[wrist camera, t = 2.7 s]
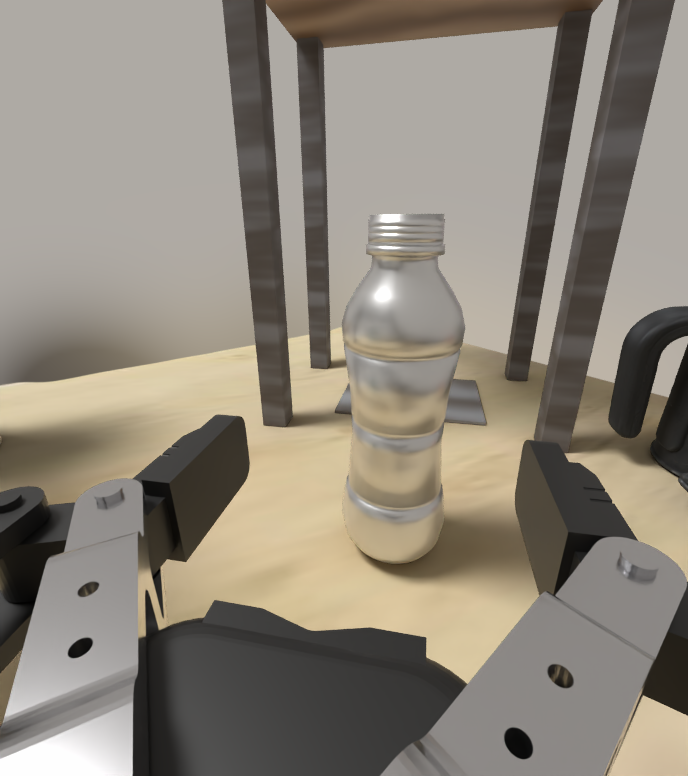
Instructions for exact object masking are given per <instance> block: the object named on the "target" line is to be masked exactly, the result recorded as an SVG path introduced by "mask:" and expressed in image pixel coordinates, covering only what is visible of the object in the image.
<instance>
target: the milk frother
mask: <svg viewBox="0 0 688 776" xmlns="http://www.w3.org/2000/svg"><path fill="white" fill-rule="evenodd" d="M684 336H688V306H684V307H669V308H664V309H661V310H658V311H655V312H653V313H651V314H649V315H647V316H646V317H644V318H643V319H641V320H640V321H639V322H637V323H636V324H635V325H634V326H633V327H632V328H631V329H630V331H629V332H628V334H627V336H626V337H625V340H624V342H623V345H622V350H621V354H620V359H619V365H618V370H617V375H616V379H615V385H614V390H613V395H612V401H611V406H610V411H609V418H608V420H609V424H610V425H611V427H612V428H613V429H614V430H615V432H616V433H618V434H619V435H620V436H622V437H626V438H634V437H636V436H637V435H638V434H639V433H640V431H641V428H642V424H643V420H644V416H645V413H646V409H647V406H648V402H649V397H650V394H651V390H652V386H653V383H654V379H655V375H656V371H657V366H658V362H659V359H660V356H661V353H662V351H663V350H664V349H665V348H666V346H667V345H669V344H670V343H671V342H673V341H674V340H676V339H678V338H681V337H684ZM650 450H651V454H652V455H653V456H654V458H655V459H656V460H657V461H658V462H659V463H660V464H661V465H662V466H663V467H665V468H666V469H668V470H669V471H671V472H672V473H675V474H676V475H678V476H679V477H680V478H679V479H678V481H679V483H680V485H681V486H682V487H683V488H684V489H685V490H686V491H687V492H688V345H687V348H686V350H685V353H684V356H683V359H682V362H681V364H680V367H679V370H678V373H677V375H676V378H675V382H674V385H673V387H672V389H671V393H670V395H669V398H668V401H667V404H666V406H665V409H664V412H663V414H662V417H661V420H660V422H659V425H658V428H657V432H656V439H655V440H654V441H653V442H652V444H651V447H650Z"/></svg>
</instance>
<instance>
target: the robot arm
mask: <svg viewBox="0 0 688 776" xmlns="http://www.w3.org/2000/svg"><path fill="white" fill-rule="evenodd" d="M1 441H2V438H1V435H0V444H1ZM249 464H250V462H249V453H248V445H247V437H246V428H245V422H244V420H243V418H242V417H240V416H229V415H215V416H214V417H213V418H212V419H210V420H209V421H208V422H207V423H206V424H205V425H204V426H202V427H201V428H200V429H197V430H195V431H193V432H191V433H189V434H187V435H185V436H183V437H181V438H180V439H179V440H178V441H177V442H176V443H174V444H173V445H172V448H168V449H167V450H166V451H165V452H164V453H163V455H162V456H161V455H160V456H159V457H158V458H157V459H155V460H154V461H153V462H152V463H151V464H149V465H148V466H147V467H146V468H145V469H144V470H142V471H141V472H140V473H139V474H138V475H136V476H135V477H134V478H133V479H115V480H110V481H107V482H104V483H101V484H98V485H96V486H94V487H92V488H90V489H89V490H87V491H86V492H84V493H83V494H82V495H81V496H80V497H79V498H78V499H77V501H76V502H75V503H65V504H55V505H48V502H47V499H46V496H45V494H44V491H43V490H42V489H41V488H38V487H29V486H28V487H19V488H14V489H10V490H7V491H4V492H1V493H0V673H1V672H2V670H3V669H4V668H5V667H6V666H7V665H8V664H9V663H10V662H11V661H12V659H13V658H14V657H15V656H16V655H17V654H18V653H19V652H20V651H21V650H22V648H23V650H22V654H21V657H20V661H19V665H18V668H17V672H16V676H15V679H14V683H13V687H12V690H11V694H10V698H9V702H8V705H7V709H6V713H5V716H4V720H3V723H2V725H1V726H0V776H609V774H610V772H611V769H612V767H613V765H614V762H615V760H616V758H617V755H618V753H619V751H620V748H621V746H622V744H623V741H624V739H625V737H626V734H627V732H628V730H629V727H630V725H631V723H632V720H633V718H634V716H635V713H636V711H637V709H638V706H639V704H640V702H641V699H642V697H643V695H644V696H646V697H648V698H651V699H653V700H655V701H657V702H659V703H662V704H664V705H666V706H668V707H670V708H672V709H675V710H677V711H679V712H681V713H683V714H686V715H688V582H687V579H686V577H685V574H684V573H683V571H682V570H681V568H680V567H679V566H678V565H677V564H676V563H675V562H674V561H673V560H672V559H671V558H669V557H668V556H667V555H665V554H664V553H662V552H661V551H659V550H657V549H655V548H653V547H651V546H649V545H647V544H645V543H642V542H639V541H638V540H637V538H636V537H635V535H634V534H633V532H632V531H631V529H630V528H629V526H628V524H627V523H626V521H625V520H624V518H623V517H622V515H621V514H620V512H619V510H618V509H617V507H616V506H615V504H612V500H611V498H610V496H609V495H608V493H607V492H605V489H604V487H603V486H602V484H601V482H600V481H599V479H598V478H597V476H596V475H595V474H593V473H592V472H591V471H589V470H588V469H587V468H585V467H584V466H583V465H581V464H580V463H572V462H569V461H568V460H567V458H566V456H565V454H564V453H563V451H562V449H561V447H560V446H559V444H558V443H557V442H546V441H533V440H526V441H525V442H524V445H523V449H522V455H521V461H520V467H519V473H518V479H517V485H516V491H515V508H516V514H517V517H518V521H519V524H520V528H521V531H522V535H523V539H524V542H525V546H526V549H527V553H528V556H529V560H530V563H531V567H532V570H533V574H534V577H535V581H536V584H537V588H538V591H539V595H540V596H539V597H538V598H537V600H536V601H535V602H534V603H533V605H532V606H531V607H530V608H529V610H528V611H527V612H526V613H525V614H524V616H523V617H522V618H521V619H520V621H519V622H518V623H517V624H516V626H515V627H514V628H513V629H512V630H511V632H510V633H509V634H508V635H507V637H506V638H505V639H504V640H503V641H502V643H501V644H500V645H499V646H498V648H497V649H496V650H495V651H494V653H493V654H492V655H491V656H490V657H489V659H488V660H487V661H486V662H485V664H484V665H483V666H482V667H481V669H480V670H479V671H478V672H477V673H476V675H475V676H474V677H473V678H472V680H471V681H470V682H469V683H468V684H466V683H465V682H464V681H463V680H462V679H461V678H459V677H458V676H457V675H455V674H454V673H453V672H451V671H450V670H448V669H447V668H445V667H443V666H442V665H440V664H438V663H437V662H435V661H432V660H430V659H428V658H426V637H420V636H415V635H409V634H403V633H398V632H392V631H386V630H381V629H375V628H356V629H341V630H326V631H310V630H307V629H305V628H302V627H300V626H298V625H296V624H294V623H292V622H290V621H288V620H286V619H284V618H281V617H279V616H277V615H275V614H273V613H271V612H269V611H267V610H265V609H262V608H257V607H251V606H245V605H240V604H234V603H228V602H223V601H217V600H214V602H213V604H212V605H211V607H210V609H209V611H208V612H207V614H206V616H205V617H204V618H198V619H192V620H187V621H183V622H180V623H176V624H173V625H170V626H168V624H167V611H166V598H165V586H164V575H163V570H162V565H163V563H164V562H165V561H166V560H167V559H170V560H176V561H183V562H186V561H187V560H188V559H189V557H190V556H191V554H192V553H193V552H194V550H195V549H196V548H197V546H198V545H199V544H200V542H201V541H202V539H203V538H204V537H205V535H206V534H207V533H208V531H209V530H210V529H211V527H212V526H213V525H214V523H215V522H216V520H217V519H218V518H219V516H220V515H221V514H222V512H223V511H224V510H225V508H226V507H227V505H228V504H229V503H230V501H231V500H232V499H233V497H234V496H235V495H236V493H237V492H238V491H239V489H240V488H241V486H242V485H243V484H244V482H245V481H246V479H247V476H248V472H249Z"/></svg>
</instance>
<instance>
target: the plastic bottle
mask: <svg viewBox="0 0 688 776" xmlns="http://www.w3.org/2000/svg"><path fill="white" fill-rule="evenodd" d="M444 222H445V219H444V214H387V215H370V216H369V236H368V242H369V243H368V244H367V245H366V253H367V254H369V255H372V265H371V268H370V270H369V271H368V273H367V274H366V276H365V277H364V278H363V280H362V281H361V283H360V284H359V286H358V287H357V288H356V290H355V292H354V294H353V296H352V297H351V299H350V301H349V302H348V304H347V306H346V310H345V314H344V317H343V321H342V332H343V341H344V350H345V356H346V363H347V370H348V377H349V384H350V392H351V412H352V442H351V453H350V464H349V474H348V477H347V480H346V484H345V489H344V496H343V503H342V511H343V516H344V521H345V526H346V529H347V533H348V535H349V537H350V538H351V540H352V541H353V542H354V543H355V544H356V545H357V547H358V548H359V549H360V550H361V551H363V552H364V553H365V554H366V555H368V556H370V557H371V558H373V559H376V560H378V561H381V562H385V563H391V564H402V563H408V562H412V561H415V560H417V559H419V558H420V557H422V556H423V555H425V554H426V553H428V552H429V551H430V550H431V549H432V548H433V547H434V546H435V544H436V543H437V541H438V538H439V535H440V532H441V529H442V526H443V523H444V495H443V488H442V484H441V440H442V434H443V428H444V419H445V416H446V410H447V403H448V397H449V392H450V388H451V385H452V381H453V377H454V373H455V369H456V366H457V362H458V358H459V354H460V348H461V346H462V343H463V337H464V331H465V324H464V318H463V313H462V309H461V306H460V304H459V302H458V300H457V298H456V296H455V295H454V292H453V291H452V289H451V287H450V285H449V284H448V282H447V281H446V279H445V278H444V276H443V274H442V273H441V271H440V270H439V268H438V256H439V255H443V254H444V253H445V244H443V236H444Z"/></svg>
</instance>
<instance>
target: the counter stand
mask: <svg viewBox="0 0 688 776" xmlns="http://www.w3.org/2000/svg"><path fill="white" fill-rule="evenodd" d="M602 1H603V0H222V2H223V12H224V22H225V33H226V43H227V53H228V63H229V74H230V83H231V94H232V105H233V115H234V125H235V136H236V145H237V156H238V166H239V177H240V187H241V197H242V208H243V218H244V228H245V239H246V249H247V258H248V269H249V279H250V290H251V300H252V311H253V319H254V331H255V341H256V352H257V362H258V372H259V383H260V393H261V403H262V414H263V424H264V425H268V426H279V427H286V426H287V424H288V423H289V421H290V420H291V419H292V417H293V413H292V398H291V383H290V367H289V352H288V337H287V321H286V307H285V291H284V275H283V261H282V245H281V229H280V215H279V200H278V185H277V168H276V153H275V138H274V122H273V108H272V92H271V76H270V61H269V46H268V30H267V16H266V4H267V5H268V6H269V8H270V9H271V10H272V12H273V13H274V14H275V15H276V17H277V18H278V19H279V21H280V22H281V23H282V24H283V26H284V27H285V28H286V30H287V31H288V32H289V33H290V35H291V36H292V37H293V38H294V40H295V41H296V42H297V60H298V82H299V106H300V127H301V152H302V175H303V196H304V197H303V198H304V220H305V243H306V266H307V287H308V288H307V289H308V311H309V335H310V358H311V368H323V369H327V368H328V367H329V365H330V364H331V348H330V306H329V267H328V266H329V264H328V225H327V224H328V223H327V222H328V220H327V180H326V138H325V96H324V95H325V93H324V50H323V48H330V47H340V46H351V45H363V44H373V43H383V42H395V41H404V40H416V39H426V38H437V37H448V36H459V35H469V34H479V33H491V32H501V31H512V30H522V29H534V28H544V27H555V26H558V29H557V35H556V42H555V49H554V55H553V61H552V68H551V75H550V81H549V88H548V94H547V101H546V108H545V114H544V120H543V127H542V133H541V140H540V146H539V153H538V159H537V166H536V173H535V179H534V186H533V192H532V199H531V205H530V212H529V218H528V225H527V232H526V238H525V245H524V252H523V258H522V265H521V271H520V277H519V284H518V291H517V297H516V303H515V310H514V317H513V323H512V330H511V336H510V342H509V349H508V356H507V362H506V369H505V375H506V377H507V380H518V381H527V378H528V372H529V366H530V361H531V355H532V349H533V344H534V338H535V333H536V326H537V321H538V316H539V310H540V304H541V299H542V293H543V287H544V281H545V275H546V270H547V265H548V259H549V253H550V248H551V242H552V236H553V231H554V225H555V219H556V214H557V208H558V202H559V197H560V191H561V185H562V180H563V174H564V169H565V163H566V157H567V152H568V145H569V140H570V135H571V129H572V123H573V117H574V111H575V106H576V100H577V95H578V89H579V84H580V78H581V72H582V67H583V61H584V55H585V50H586V44H587V38H588V32H589V27H590V22H591V16H592V14H593V12H594V11H595V10H596V9H597V7H598V6H599V5H600V3H601V2H602ZM674 1H675V0H619V4H618V9H617V15H616V20H615V25H614V30H613V35H612V40H611V45H610V50H609V55H608V60H607V66H606V71H605V76H604V81H603V86H602V91H601V96H600V101H599V106H598V112H597V117H596V122H595V127H594V132H593V137H592V142H591V147H590V153H589V158H588V163H587V168H586V173H585V179H584V183H583V188H582V193H581V199H580V204H579V209H578V214H577V220H576V224H575V229H574V235H573V240H572V245H571V250H570V255H569V260H568V266H567V271H566V275H565V281H564V286H563V291H562V296H561V301H560V307H559V312H558V317H557V322H556V327H555V332H554V338H553V342H552V347H551V352H550V357H549V363H548V368H547V373H546V378H545V383H544V388H543V393H542V398H541V403H540V409H539V414H538V419H537V424H536V429H535V434H534V439H535V441H546V442H557V443H558V444H559V446H560V447H561V449H562V451H563V453H568V450H569V446H570V442H571V438H572V433H573V429H574V425H575V421H576V417H577V412H578V408H579V404H580V400H581V395H582V391H583V387H584V383H585V378H586V374H587V370H588V366H589V361H590V357H591V353H592V348H593V344H594V340H595V336H596V332H597V327H598V323H599V319H600V315H601V311H602V306H603V302H604V298H605V294H606V289H607V285H608V281H609V277H610V272H611V268H612V264H613V260H614V256H615V251H616V247H617V243H618V239H619V234H620V230H621V226H622V222H623V217H624V213H625V209H626V205H627V201H628V196H629V192H630V188H631V184H632V179H633V175H634V171H635V167H636V162H637V158H638V154H639V149H640V145H641V141H642V137H643V132H644V129H645V124H646V120H647V116H648V112H649V107H650V103H651V99H652V95H653V91H654V86H655V82H656V77H657V74H658V69H659V65H660V61H661V57H662V52H663V48H664V44H665V40H666V35H667V31H668V27H669V23H670V19H671V14H672V10H673V5H674ZM335 413H343V414H352V412H351V392H350V384H348V386H347V388H346V390H345V392H344V394H343V396H342V397H341V399H340V401H339V403H338V405H337V407H336V409H335ZM444 422H452V423H465V424H477V425H486V421H485V417H484V413H483V409H482V405H481V401H480V397H479V393H478V389H477V385H476V381H474V380H458V379H453V381H452V385H451V388H450V392H449V397H448V403H447V410H446V416H445V419H444Z"/></svg>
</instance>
